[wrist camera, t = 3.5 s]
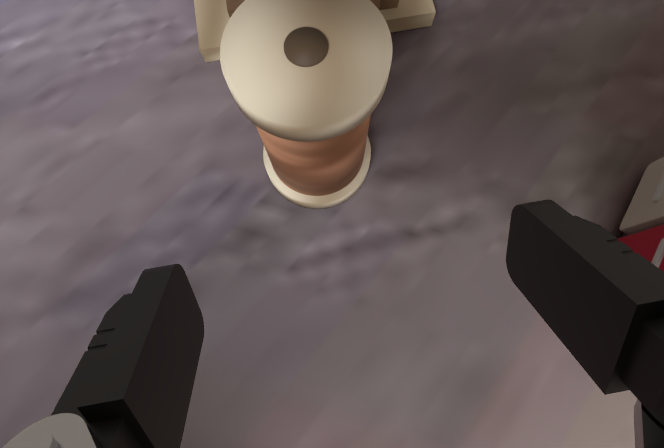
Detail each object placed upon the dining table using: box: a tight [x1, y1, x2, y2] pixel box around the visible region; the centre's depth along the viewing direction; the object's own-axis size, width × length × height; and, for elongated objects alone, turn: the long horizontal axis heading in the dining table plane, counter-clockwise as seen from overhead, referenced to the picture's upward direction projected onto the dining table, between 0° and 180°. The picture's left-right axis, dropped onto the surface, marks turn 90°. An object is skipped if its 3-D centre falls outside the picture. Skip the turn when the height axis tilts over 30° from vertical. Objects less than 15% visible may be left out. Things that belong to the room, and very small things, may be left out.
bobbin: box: [220, 0, 393, 209], centre depth 19 cm, size 6×6×10 cm
